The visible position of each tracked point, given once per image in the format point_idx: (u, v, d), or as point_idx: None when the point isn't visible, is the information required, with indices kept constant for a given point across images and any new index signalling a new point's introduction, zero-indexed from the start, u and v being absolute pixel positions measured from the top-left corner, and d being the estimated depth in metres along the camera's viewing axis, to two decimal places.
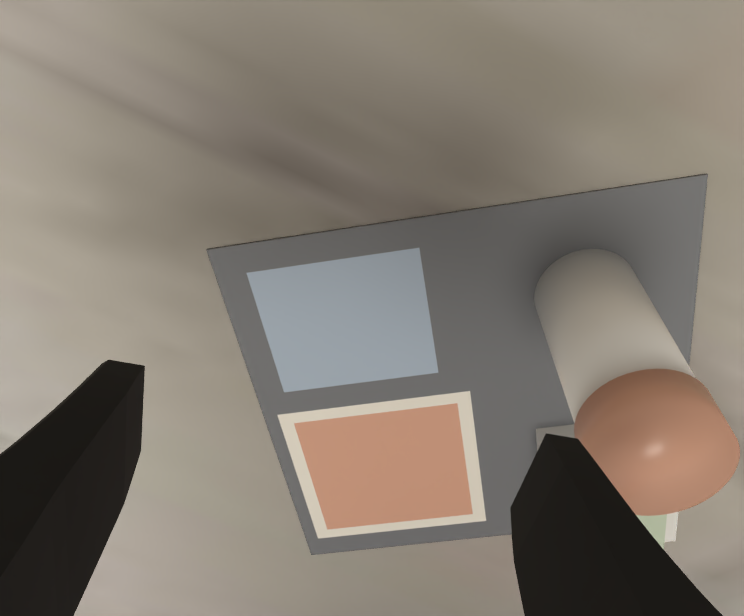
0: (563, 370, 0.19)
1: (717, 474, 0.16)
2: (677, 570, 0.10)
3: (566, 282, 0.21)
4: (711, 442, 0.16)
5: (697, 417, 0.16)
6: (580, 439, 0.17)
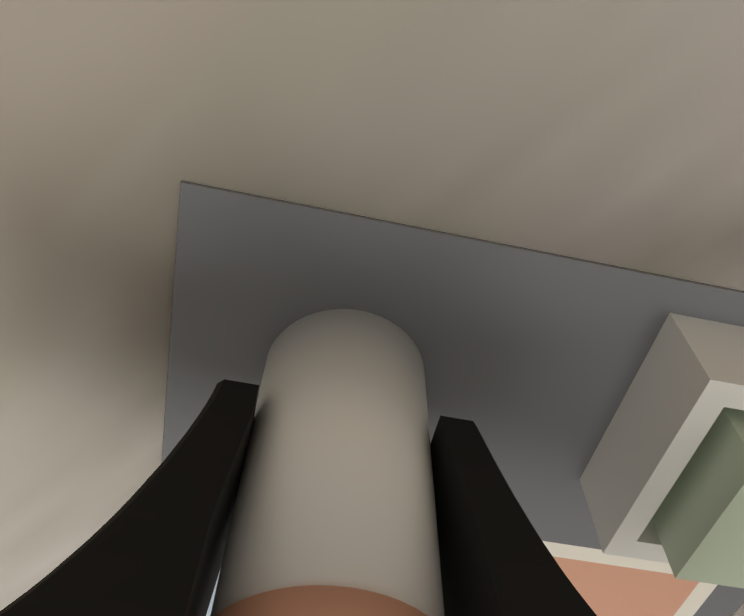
0: None
1: None
2: (543, 550, 0.10)
3: None
4: None
5: None
6: None
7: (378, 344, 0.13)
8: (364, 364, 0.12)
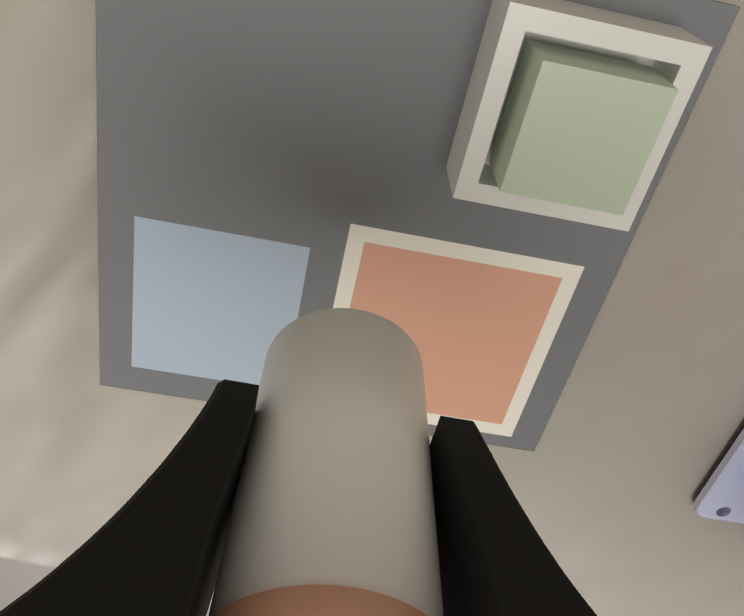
0: None
1: None
2: (544, 550, 0.10)
3: None
4: None
5: None
6: None
7: (376, 343, 0.13)
8: (362, 363, 0.12)
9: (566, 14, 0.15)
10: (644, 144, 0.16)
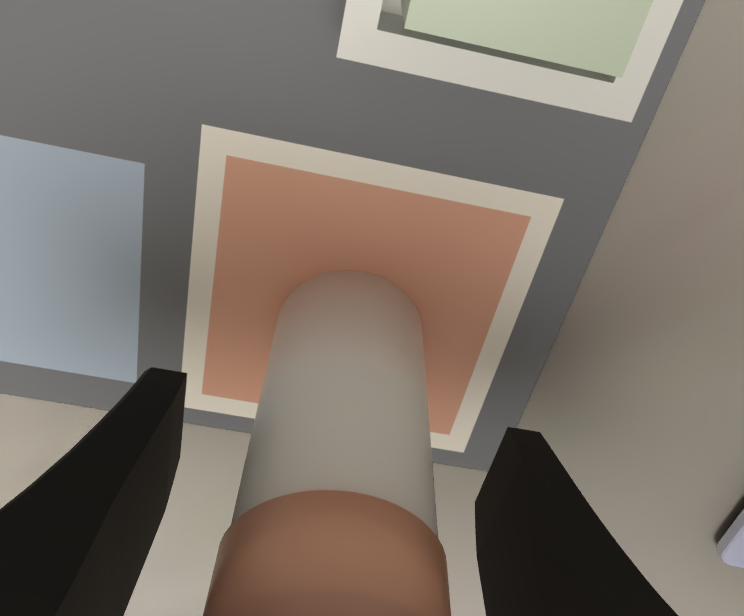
0: None
1: None
2: (629, 563, 0.10)
3: None
4: None
5: None
6: None
7: (379, 301, 0.14)
8: (366, 316, 0.13)
9: None
10: None
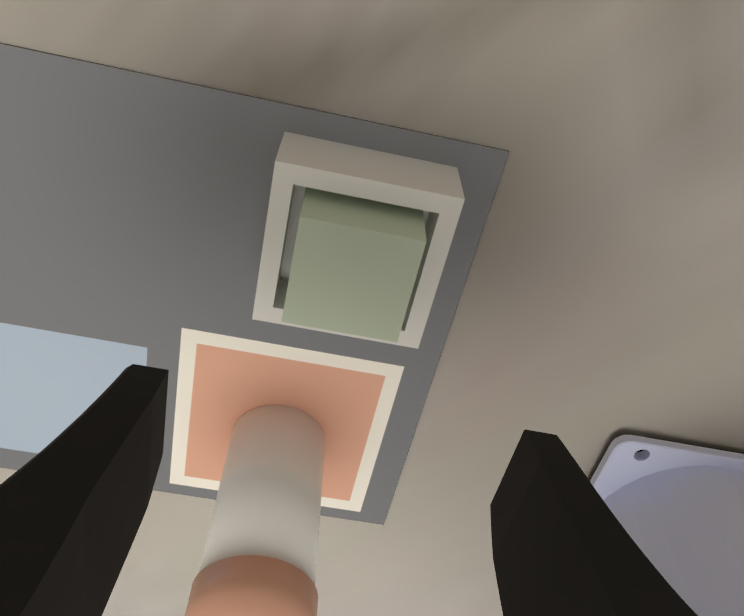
0: None
1: None
2: (650, 566, 0.10)
3: None
4: None
5: None
6: None
7: (292, 427, 0.23)
8: (283, 440, 0.22)
9: (327, 171, 0.17)
10: (405, 284, 0.17)
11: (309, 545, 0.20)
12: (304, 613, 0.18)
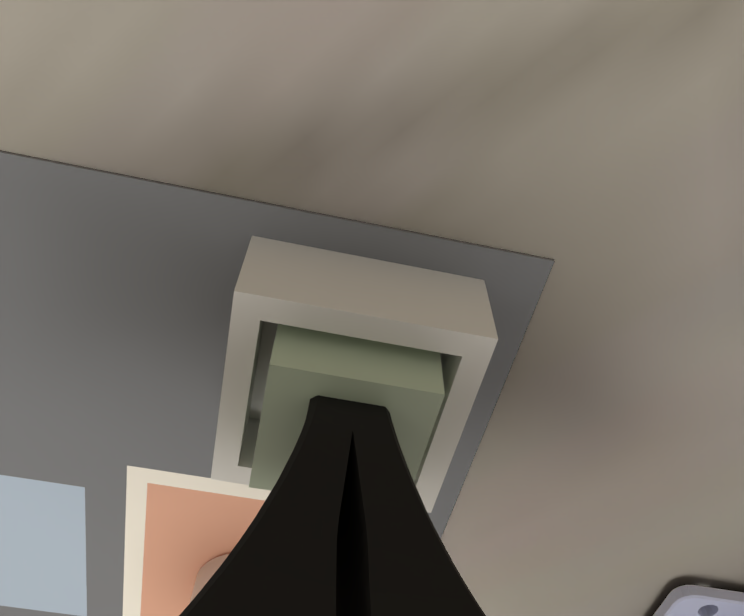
0: None
1: None
2: (430, 533, 0.09)
3: None
4: None
5: None
6: None
7: None
8: None
9: (308, 304, 0.12)
10: (415, 445, 0.13)
11: None
12: None
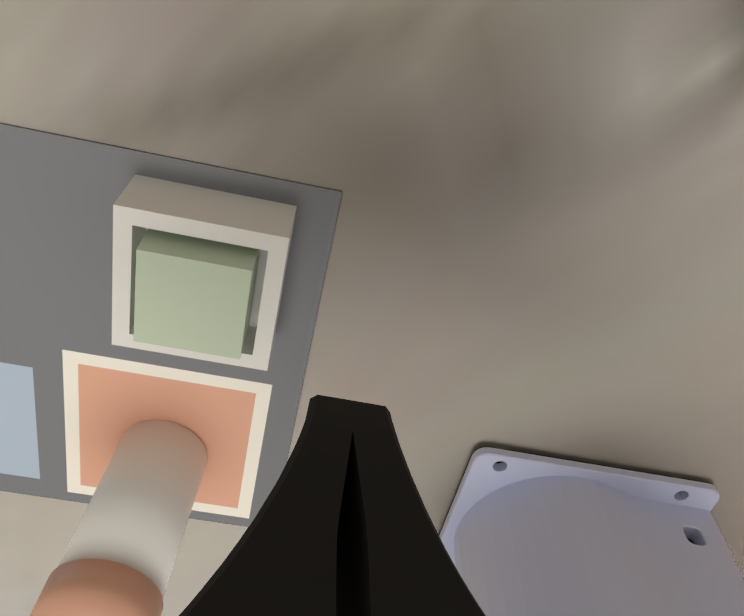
0: None
1: None
2: (430, 533, 0.09)
3: None
4: None
5: None
6: None
7: (171, 442, 0.24)
8: (159, 454, 0.24)
9: (162, 213, 0.18)
10: (239, 308, 0.19)
11: (162, 554, 0.21)
12: None
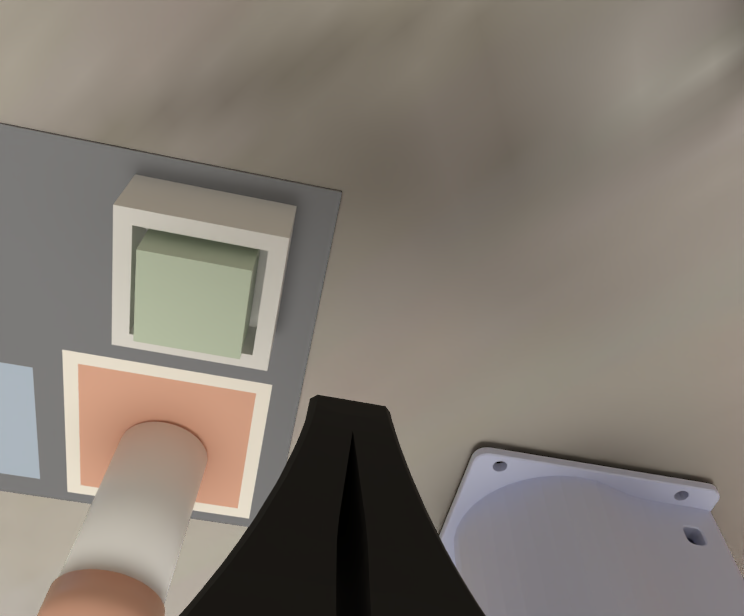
0: None
1: None
2: (430, 533, 0.09)
3: None
4: None
5: None
6: None
7: (173, 446, 0.24)
8: (160, 458, 0.24)
9: (162, 213, 0.18)
10: (239, 308, 0.19)
11: (164, 562, 0.21)
12: None
